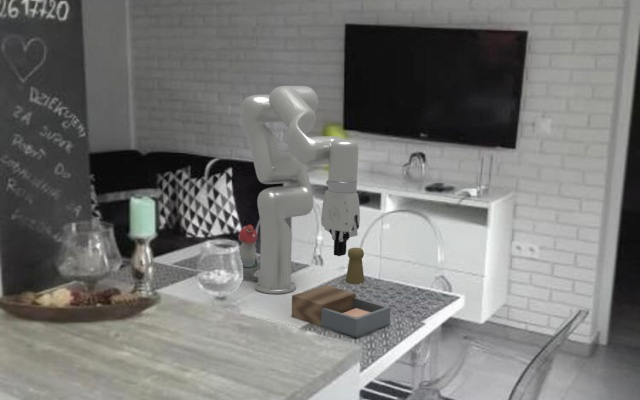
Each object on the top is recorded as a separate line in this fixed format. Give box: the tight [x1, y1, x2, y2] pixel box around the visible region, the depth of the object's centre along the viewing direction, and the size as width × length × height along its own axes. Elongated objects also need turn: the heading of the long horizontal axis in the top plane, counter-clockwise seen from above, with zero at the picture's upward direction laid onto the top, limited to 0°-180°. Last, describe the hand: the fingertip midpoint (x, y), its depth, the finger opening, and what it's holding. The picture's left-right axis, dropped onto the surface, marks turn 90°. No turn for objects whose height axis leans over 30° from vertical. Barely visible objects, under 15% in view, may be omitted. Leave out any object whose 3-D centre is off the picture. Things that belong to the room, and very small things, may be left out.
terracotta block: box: [343, 308, 371, 318], centre depth 189 cm, size 6×6×3 cm
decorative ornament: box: [238, 224, 258, 268], centre depth 246 cm, size 9×6×15 cm
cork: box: [345, 247, 365, 285], centre depth 230 cm, size 6×6×11 cm
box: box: [320, 296, 391, 339], centre depth 189 cm, size 12×14×5 cm
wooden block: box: [291, 284, 357, 327], centre depth 197 cm, size 11×14×6 cm
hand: (339, 254), depth 191 cm, fingers closed
